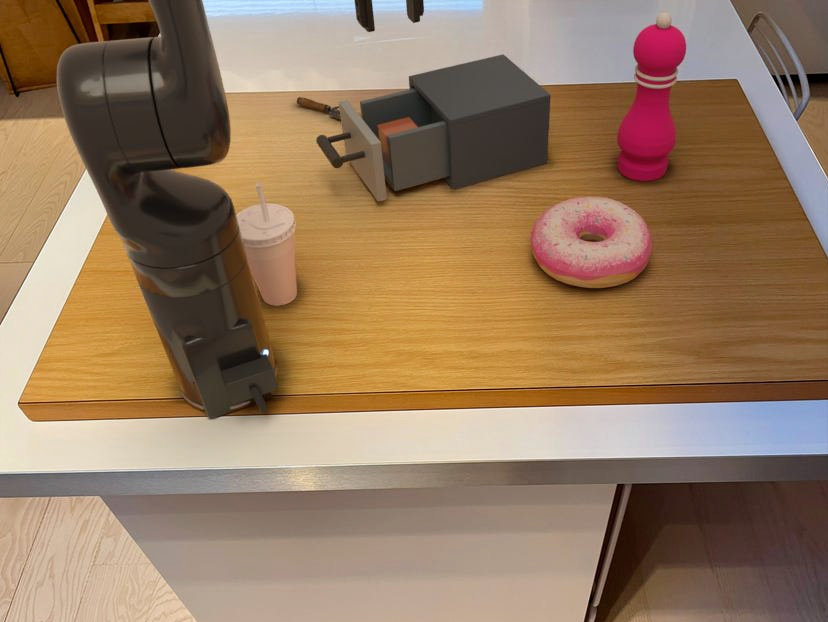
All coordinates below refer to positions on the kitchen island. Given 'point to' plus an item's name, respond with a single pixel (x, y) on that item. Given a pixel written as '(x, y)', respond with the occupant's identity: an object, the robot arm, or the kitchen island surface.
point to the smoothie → (270, 249)
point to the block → (391, 129)
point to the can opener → (319, 106)
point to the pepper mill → (651, 102)
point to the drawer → (392, 142)
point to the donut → (591, 261)
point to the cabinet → (488, 118)
